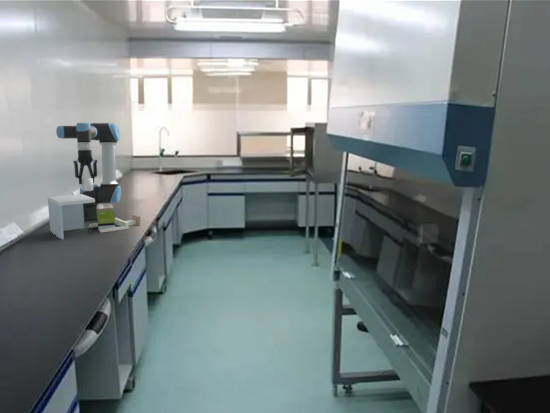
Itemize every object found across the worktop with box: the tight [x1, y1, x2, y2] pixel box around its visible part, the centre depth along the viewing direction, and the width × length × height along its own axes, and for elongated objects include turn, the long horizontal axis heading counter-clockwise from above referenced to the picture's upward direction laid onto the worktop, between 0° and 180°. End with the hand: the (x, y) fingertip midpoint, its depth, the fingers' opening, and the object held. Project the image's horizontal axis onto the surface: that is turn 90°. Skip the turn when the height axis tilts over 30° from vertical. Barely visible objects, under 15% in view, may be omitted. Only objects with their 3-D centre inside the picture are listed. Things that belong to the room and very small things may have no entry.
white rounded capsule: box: [82, 177, 94, 191], centre depth 297 cm, size 5×5×7 cm
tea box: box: [96, 203, 116, 232], centre depth 315 cm, size 15×10×15 cm, turn 21°
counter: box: [47, 193, 95, 240], centre depth 302 cm, size 24×20×22 cm
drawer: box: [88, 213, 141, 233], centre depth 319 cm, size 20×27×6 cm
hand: (87, 189), depth 300 cm, fingers closed on white rounded capsule, 5 cm apart
